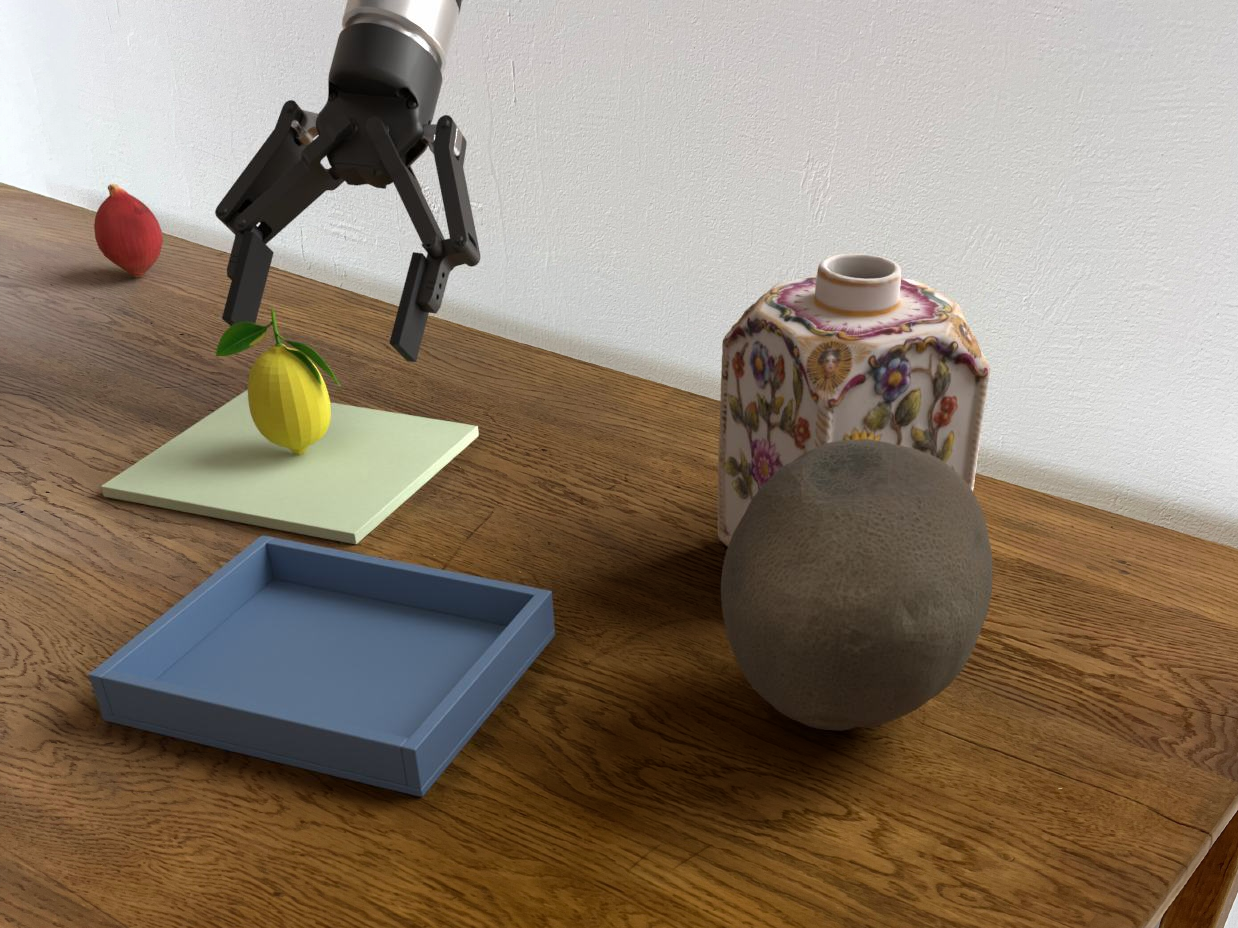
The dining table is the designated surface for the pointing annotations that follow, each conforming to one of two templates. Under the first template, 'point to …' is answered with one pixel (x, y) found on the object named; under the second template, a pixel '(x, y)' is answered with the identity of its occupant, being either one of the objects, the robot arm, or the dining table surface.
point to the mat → (295, 470)
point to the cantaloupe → (857, 583)
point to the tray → (330, 662)
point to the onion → (127, 232)
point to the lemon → (283, 387)
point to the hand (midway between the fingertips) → (318, 341)
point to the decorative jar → (845, 375)
